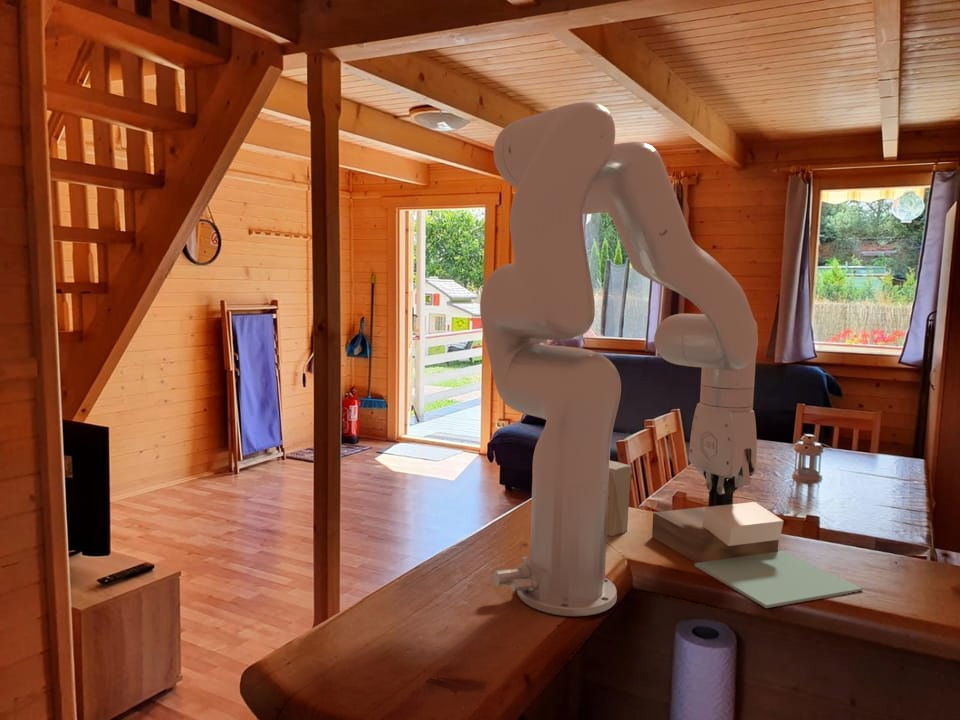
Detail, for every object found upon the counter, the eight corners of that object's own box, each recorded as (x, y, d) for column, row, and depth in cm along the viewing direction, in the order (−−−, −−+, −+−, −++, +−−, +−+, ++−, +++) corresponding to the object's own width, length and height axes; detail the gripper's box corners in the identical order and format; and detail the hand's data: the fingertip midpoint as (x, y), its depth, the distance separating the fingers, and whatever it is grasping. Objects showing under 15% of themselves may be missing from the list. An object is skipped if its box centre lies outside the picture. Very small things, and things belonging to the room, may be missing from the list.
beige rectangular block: (728, 546, 99) (732, 526, 98) (702, 525, 104) (705, 507, 103) (779, 539, 102) (783, 520, 101) (751, 519, 107) (754, 501, 106)
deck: (700, 565, 101) (701, 538, 100) (652, 537, 112) (653, 512, 112) (777, 554, 106) (779, 528, 105) (723, 528, 117) (725, 504, 116)
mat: (766, 608, 87) (766, 605, 87) (694, 566, 100) (694, 563, 100) (862, 591, 93) (862, 588, 93) (782, 553, 106) (783, 550, 106)
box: (587, 528, 115) (589, 462, 114) (603, 523, 118) (605, 458, 117) (613, 537, 111) (616, 468, 110) (629, 531, 114) (632, 464, 113)
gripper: (674, 391, 111) (669, 505, 113) (741, 407, 97) (734, 536, 99) (713, 390, 114) (707, 500, 115) (783, 404, 100) (775, 530, 102)
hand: (719, 516), depth 107 cm, fingers closed
